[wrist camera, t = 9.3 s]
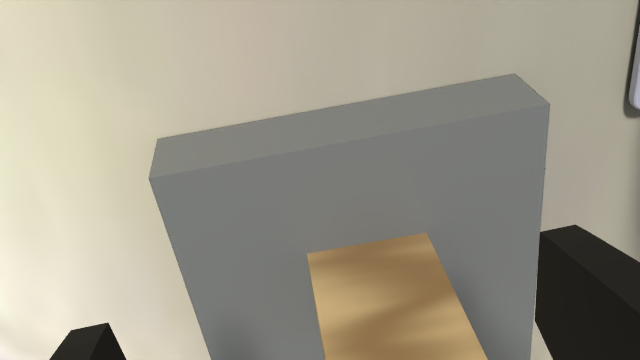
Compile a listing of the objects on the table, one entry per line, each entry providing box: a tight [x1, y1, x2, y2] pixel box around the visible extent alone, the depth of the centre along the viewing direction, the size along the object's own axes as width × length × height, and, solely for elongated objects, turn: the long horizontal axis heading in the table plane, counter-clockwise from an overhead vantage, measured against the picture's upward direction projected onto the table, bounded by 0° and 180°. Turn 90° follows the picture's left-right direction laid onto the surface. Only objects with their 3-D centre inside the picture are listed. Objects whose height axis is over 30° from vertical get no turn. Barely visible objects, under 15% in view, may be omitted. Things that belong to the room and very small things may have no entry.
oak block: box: [307, 233, 488, 360], centre depth 18 cm, size 4×4×6 cm
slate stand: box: [149, 74, 550, 360], centre depth 21 cm, size 12×12×2 cm
